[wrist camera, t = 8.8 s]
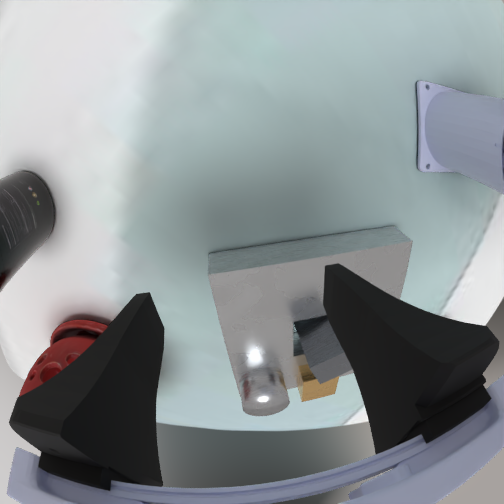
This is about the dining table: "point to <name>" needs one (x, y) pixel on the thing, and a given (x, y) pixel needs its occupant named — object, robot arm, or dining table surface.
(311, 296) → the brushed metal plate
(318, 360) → the metal block
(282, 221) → the dining table surface
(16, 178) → the supplement bottle
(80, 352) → the plant pot
